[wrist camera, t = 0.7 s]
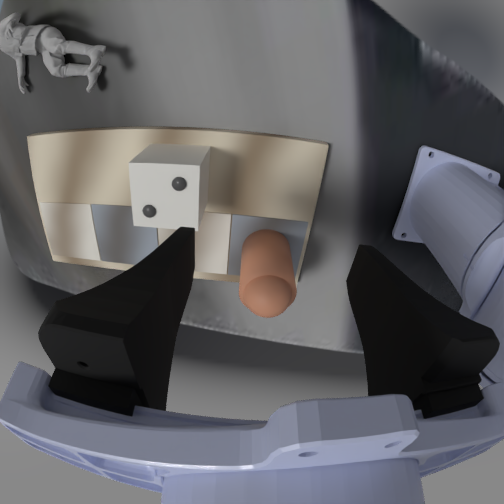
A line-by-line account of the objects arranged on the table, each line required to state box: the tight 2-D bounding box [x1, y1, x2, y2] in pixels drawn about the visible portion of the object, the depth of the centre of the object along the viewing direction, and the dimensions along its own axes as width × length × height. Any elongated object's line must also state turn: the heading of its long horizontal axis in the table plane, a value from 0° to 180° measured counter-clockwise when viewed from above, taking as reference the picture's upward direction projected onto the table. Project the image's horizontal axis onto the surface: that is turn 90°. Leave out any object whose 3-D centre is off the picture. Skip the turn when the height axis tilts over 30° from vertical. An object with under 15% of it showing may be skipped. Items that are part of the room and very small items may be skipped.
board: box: [27, 127, 329, 285], centre depth 21 cm, size 22×12×1 cm, turn 84°
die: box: [129, 143, 211, 231], centre depth 18 cm, size 4×4×4 cm
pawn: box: [239, 229, 297, 318], centre depth 20 cm, size 4×4×6 cm
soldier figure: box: [0, 12, 106, 94], centre depth 12 cm, size 8×5×12 cm
